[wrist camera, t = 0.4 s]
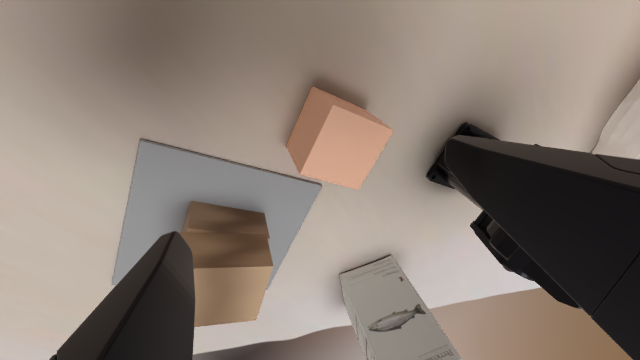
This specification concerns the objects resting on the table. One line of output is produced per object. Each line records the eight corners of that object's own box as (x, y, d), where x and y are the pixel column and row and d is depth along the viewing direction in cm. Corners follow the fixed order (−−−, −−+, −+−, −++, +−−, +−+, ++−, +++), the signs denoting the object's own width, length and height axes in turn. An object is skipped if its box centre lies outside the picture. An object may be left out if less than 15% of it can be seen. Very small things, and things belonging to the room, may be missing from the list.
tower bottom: (264, 213, 24) (270, 238, 21) (242, 261, 26) (245, 289, 24) (191, 200, 21) (187, 228, 19) (174, 255, 23) (169, 286, 21)
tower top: (266, 234, 21) (273, 266, 18) (251, 285, 24) (255, 320, 21) (180, 232, 19) (174, 269, 16) (174, 290, 21) (168, 329, 19)
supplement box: (392, 252, 34) (466, 358, 24) (391, 286, 38) (453, 388, 28) (337, 272, 32) (391, 394, 22) (342, 305, 37) (389, 419, 27)
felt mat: (321, 184, 25) (322, 186, 24) (266, 287, 30) (267, 289, 30) (140, 138, 18) (139, 140, 18) (112, 282, 23) (111, 285, 23)
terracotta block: (365, 109, 22) (393, 130, 18) (337, 161, 24) (358, 189, 20) (311, 85, 20) (333, 104, 16) (285, 145, 22) (299, 174, 18)
